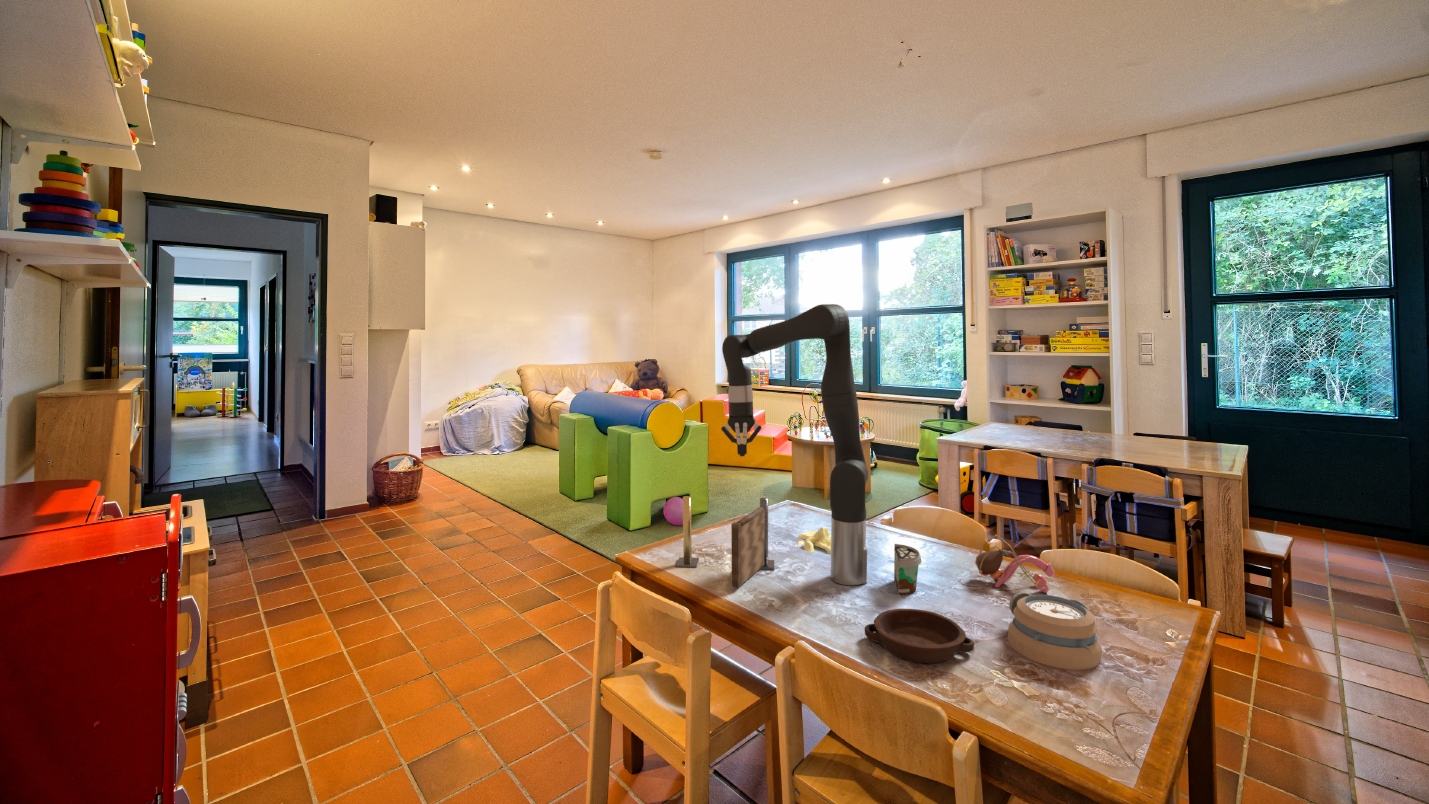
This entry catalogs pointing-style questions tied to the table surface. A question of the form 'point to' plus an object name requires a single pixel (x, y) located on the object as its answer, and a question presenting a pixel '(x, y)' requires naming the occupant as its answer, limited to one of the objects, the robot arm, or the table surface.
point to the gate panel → (747, 546)
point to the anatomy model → (1011, 567)
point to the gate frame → (687, 543)
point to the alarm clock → (1054, 631)
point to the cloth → (816, 540)
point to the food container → (906, 569)
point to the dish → (918, 635)
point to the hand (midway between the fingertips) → (742, 456)
